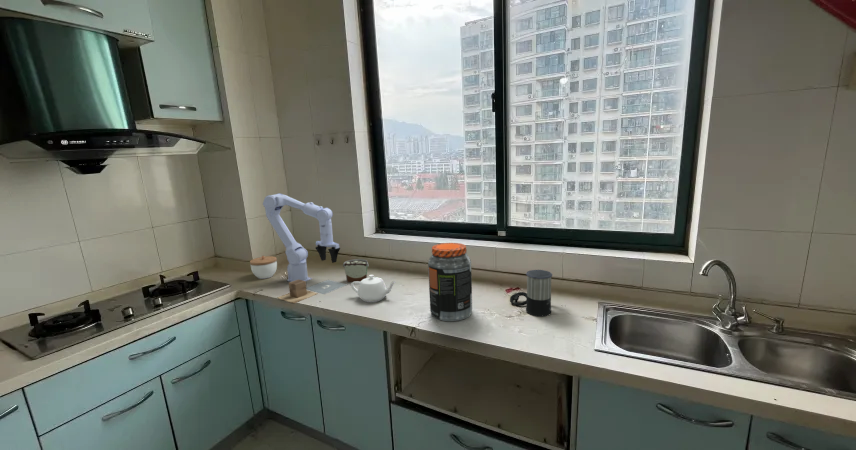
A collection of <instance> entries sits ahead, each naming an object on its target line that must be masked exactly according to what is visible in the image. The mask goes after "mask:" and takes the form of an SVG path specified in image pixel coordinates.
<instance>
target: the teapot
mask: <svg viewBox="0 0 856 450" xmlns="http://www.w3.org/2000/svg"><path fill="white" fill-rule="evenodd" d="M395 283H396V281H394V280H393V281H391V283H390V284H389V286H388V288H387V285H386V283H385V280H383V278H381V277H377V276H375V275H374V274H369V275H368V277H367V278H365V279H363V280H362V281H360V282H357V281H356V282H350V288H351V289H352V290H353V291H354V292H355V293H357V296H358V298H359V299H361V300H362V301H364V302H365V303H376V302H380V301H382V300H383V299H384V298H385V297H386V296H387V295H388V294H389V293H390V292H392V289H393V286H394V284H395ZM355 284H356V285H358V288H357V287H355Z"/></svg>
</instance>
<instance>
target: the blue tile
mask: <svg viewBox="0 0 856 450" xmlns="http://www.w3.org/2000/svg"><path fill="white" fill-rule="evenodd" d="M345 286H348V284H347V283H344V282H339V281H334V280H331V279H326V280H323V281H322V282H318V283H315V284H313V285H310V286H308V287H307V286H306V290H307V291H311V292H315V293H318V294H322V295H326V294H329V293H331V292H333V291H335V290H338V289H340V288H344V287H345Z"/></svg>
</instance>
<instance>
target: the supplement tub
mask: <svg viewBox="0 0 856 450" xmlns="http://www.w3.org/2000/svg"><path fill="white" fill-rule="evenodd" d="M427 261H428V262H427V269H428V288H429V289H428V290H429V291H428V292H429V310H430V314H431V315H432V317H433V318H435V319H437V320H439V321H445V322H459V321H462V320H465V319H467V318H468V317H470V315H472V313H473V287H472V286H473V285H472V284H473V283H472V282H473V281H472V280H473V279H472V278H473V277H472V261H471V257H470V256H469V255H468V252H467V245H465V244H463V243H461V242H460V243H459V242H443V243H442V242H441V243H438V244H434V245H432V247H431V256H430V257H429V259H428V260H427Z"/></svg>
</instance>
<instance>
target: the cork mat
mask: <svg viewBox="0 0 856 450" xmlns="http://www.w3.org/2000/svg"><path fill="white" fill-rule="evenodd" d="M318 294H319V293H317V292H314V291H310V290H307V294H306V295H304V296H301V297H299V298H295V297H292V296H290V292H288V293H285V294H283V295H281V296H277V300H282V301H285V302H288V303H291V304H294V305H295V304H297V303H299V302H302V301H304V300H306V299H309V298H311V297H313V296H317V295H318Z"/></svg>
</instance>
